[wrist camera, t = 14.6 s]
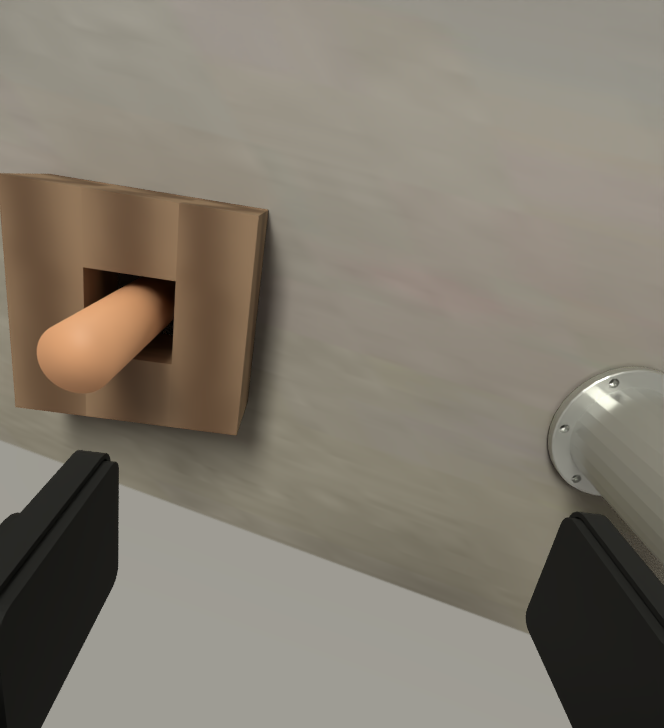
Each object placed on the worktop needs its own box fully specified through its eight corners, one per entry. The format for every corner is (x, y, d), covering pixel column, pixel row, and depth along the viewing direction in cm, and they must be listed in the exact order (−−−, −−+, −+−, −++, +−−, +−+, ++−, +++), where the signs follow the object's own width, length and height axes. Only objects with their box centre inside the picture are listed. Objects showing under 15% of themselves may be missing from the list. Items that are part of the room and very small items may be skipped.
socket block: (268, 209, 37) (258, 215, 31) (247, 401, 42) (236, 435, 37) (48, 173, 36) (-3, 173, 30) (57, 375, 41) (15, 406, 36)
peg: (184, 276, 38) (114, 328, 25) (182, 325, 40) (114, 398, 27) (132, 268, 38) (34, 317, 25) (132, 318, 40) (38, 388, 26)
